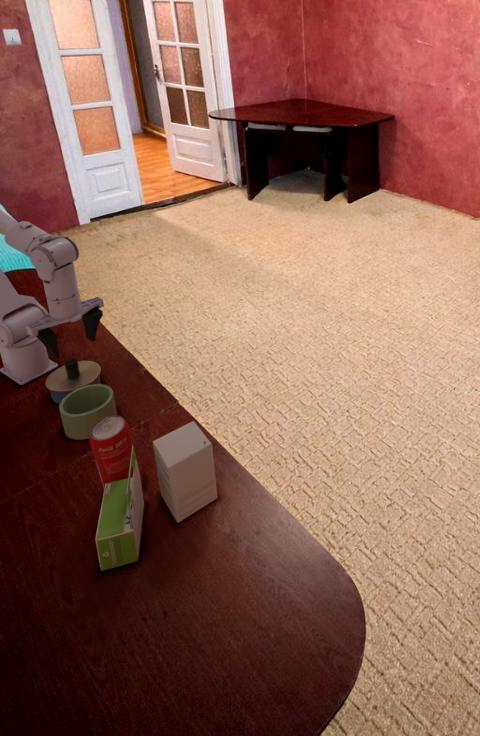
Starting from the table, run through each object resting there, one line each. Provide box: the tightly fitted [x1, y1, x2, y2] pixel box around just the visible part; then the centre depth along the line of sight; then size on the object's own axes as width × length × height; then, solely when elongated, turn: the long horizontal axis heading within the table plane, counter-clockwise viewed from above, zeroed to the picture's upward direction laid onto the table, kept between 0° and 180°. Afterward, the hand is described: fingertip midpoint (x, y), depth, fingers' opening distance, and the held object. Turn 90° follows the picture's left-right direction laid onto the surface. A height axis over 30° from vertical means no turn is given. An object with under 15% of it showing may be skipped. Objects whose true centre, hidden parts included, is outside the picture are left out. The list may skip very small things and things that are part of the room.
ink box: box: [94, 444, 145, 572], centre depth 75 cm, size 10×5×14 cm, turn 22°
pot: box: [58, 383, 118, 441], centre depth 98 cm, size 9×9×6 cm
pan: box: [49, 375, 102, 405], centre depth 107 cm, size 9×9×4 cm
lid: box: [45, 358, 102, 393], centre depth 106 cm, size 10×10×5 cm
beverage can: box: [88, 415, 143, 490], centre depth 83 cm, size 6×6×15 cm
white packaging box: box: [152, 420, 219, 524], centre depth 83 cm, size 7×7×13 cm
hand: (73, 348), depth 106 cm, fingers open, 7 cm apart
